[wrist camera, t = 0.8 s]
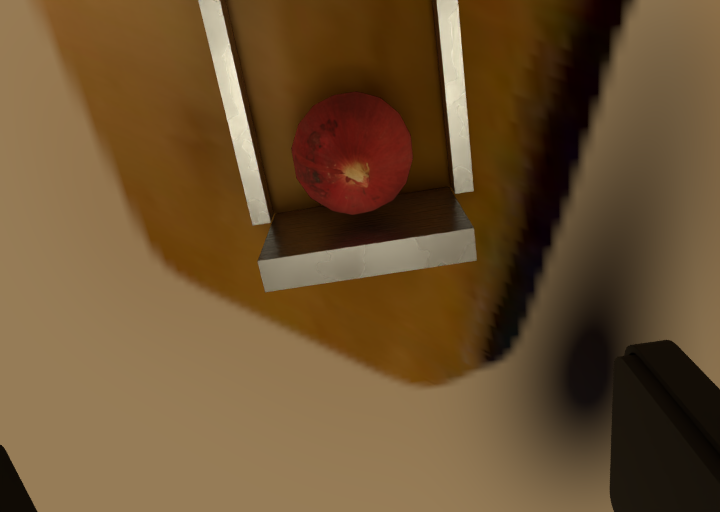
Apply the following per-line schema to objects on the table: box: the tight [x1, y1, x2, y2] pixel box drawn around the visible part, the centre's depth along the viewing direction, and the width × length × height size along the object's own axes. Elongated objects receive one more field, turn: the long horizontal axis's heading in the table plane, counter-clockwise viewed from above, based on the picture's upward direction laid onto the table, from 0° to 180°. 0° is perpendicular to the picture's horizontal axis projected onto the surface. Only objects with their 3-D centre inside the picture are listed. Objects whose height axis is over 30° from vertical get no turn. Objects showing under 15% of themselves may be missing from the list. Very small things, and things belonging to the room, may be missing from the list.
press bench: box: [198, 0, 477, 292], centre depth 26 cm, size 20×12×7 cm, turn 9°
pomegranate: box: [291, 92, 413, 215], centre depth 28 cm, size 6×6×8 cm
